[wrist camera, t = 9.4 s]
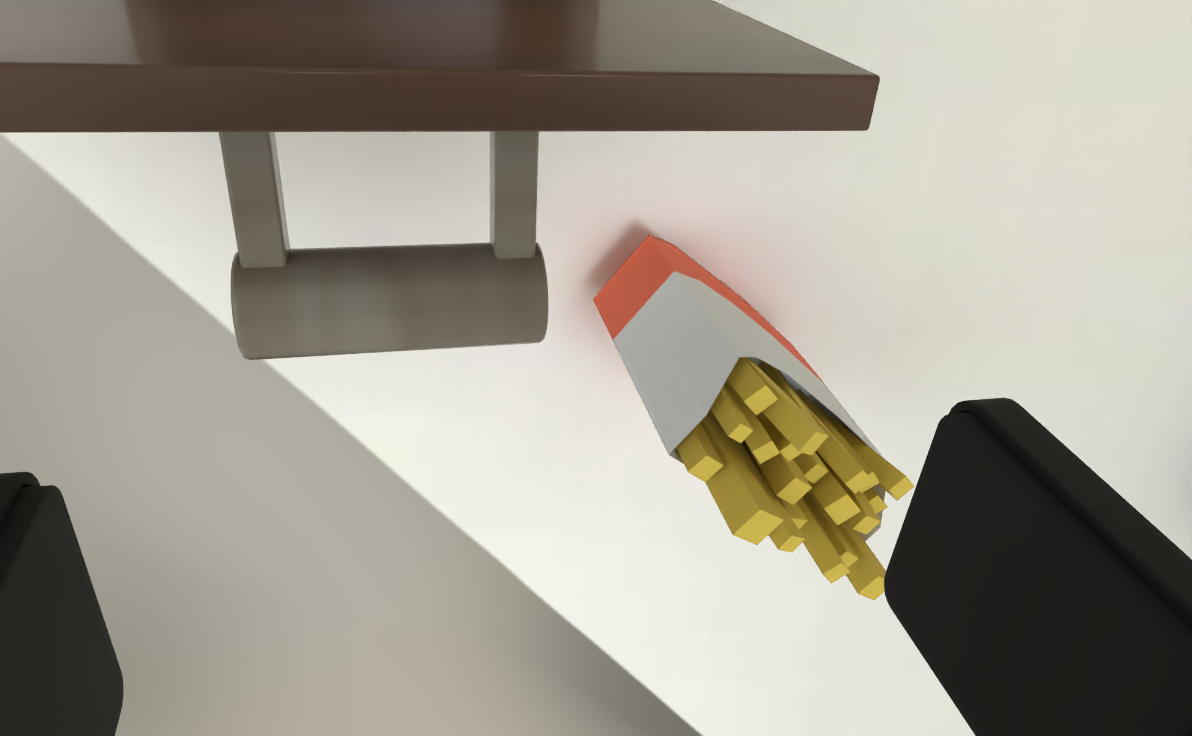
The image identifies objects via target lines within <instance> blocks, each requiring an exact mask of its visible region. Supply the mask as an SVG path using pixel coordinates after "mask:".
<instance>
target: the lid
mask: <svg viewBox="0 0 1192 736" xmlns="http://www.w3.org/2000/svg"><path fill="white" fill-rule="evenodd" d="M879 81H880V78H879V76H878V75H876V74H874V73H872V72H869V71H867V70H865V69H863V68H861V67H858V66H856V65H854V64H852V63H850V62H847V61H845V60H843V59H841V58H839V57H836V56H834V55H832V54H830V53H827V52H825V51H823V50H821V49H819V48H816V47H814V46H812V45H810V44H808V43H805V42H803V41H801V40H799V39H797V38H794V37H792V36H790V35H788V34H786V33H783V32H781V31H779V30H777V29H775V28H772V27H770V26H768V25H766V24H763V23H761V22H759V21H757V20H755V19H752V18H750V17H748V16H746V15H744V14H741V13H739V12H737V11H735V10H733V9H730V8H728V7H726V6H724V5H722V4H719V3H717V2H715V1H713V0H0V132H219V136H220V143H221V149H222V155H223V161H224V167H225V173H226V179H227V185H228V191H229V197H230V203H231V210H232V216H233V222H234V228H235V234H236V240H237V246H238V252H237V253H236V254H235V256H234V259H233V262H232V269H231V304H232V314H233V322H234V329H235V334H236V338H237V342H238V346H239V349H240V351H241V353H242V355H243V357H244V358H246V359H249V360H254V359H273V358H290V357H308V356H325V355H342V354H359V353H376V352H393V351H410V350H427V349H444V348H461V347H478V346H495V345H513V344H530V343H539V342H541V341H543V340H544V337H545V334H546V330H547V322H548V286H547V275H546V268H545V262H544V257H543V253H542V251H541V248H540V246H539V244H538V243H536V210H537V174H538V138H539V131H865V130H868V128H869V125H870V121H871V116H872V112H873V108H874V103H875V99H876V94H877V90H878V85H879ZM474 131H490V243H466V244H434V245H402V246H370V247H338V248H306V249H290V246H289V238H288V230H287V223H286V215H285V207H284V200H283V192H282V184H281V177H280V169H279V162H278V154H277V146H276V139H275V132H474Z"/></svg>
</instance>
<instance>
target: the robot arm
mask: <svg viewBox="0 0 1192 736" xmlns="http://www.w3.org/2000/svg"><path fill="white" fill-rule="evenodd" d="M884 590H885V596H886V599H887V602H888V604H889V605H890V607H891V609H892V611H893V612H894V614H895V615H896V617H897V618H898V620H899V621H900V623H901V624H902V626H903V627H904V629H905V630H906V632H907V633H908V635H909V636H910V638H911V639H912V641H913V642H914V644H915V645H916V647H917V648H918V650H919V651H920V653H921V654H922V656H923V657H924V659H925V660H926V662H927V663H928V665H929V666H930V668H931V669H932V671H933V672H934V674H935V675H936V677H937V678H938V680H939V681H940V683H941V684H942V686H943V687H944V689H945V690H946V692H947V693H948V695H949V696H950V698H951V699H952V701H953V702H954V704H955V705H956V707H957V708H958V710H959V711H960V713H961V714H962V716H963V717H964V719H965V720H966V722H967V723H968V725H969V726H970V728H971V729H972V731H973V732H974V734H975V735H976V736H1192V560H1191V559H1190V558H1189V557H1188V556H1187V555H1186V554H1185V553H1184V552H1183V551H1181V550H1180V549H1179V548H1178V547H1177V546H1176V545H1175V544H1174V543H1173V542H1171V541H1170V540H1169V539H1168V538H1167V537H1166V536H1165V535H1164V534H1163V533H1161V532H1160V531H1159V530H1158V529H1157V528H1156V527H1155V526H1154V525H1153V524H1151V523H1150V522H1149V521H1148V520H1147V519H1146V518H1145V517H1144V516H1143V515H1141V514H1140V513H1139V512H1138V511H1137V510H1136V509H1135V508H1134V507H1133V506H1131V505H1130V504H1129V503H1128V502H1127V501H1126V500H1125V499H1124V498H1123V497H1121V496H1120V495H1119V494H1118V493H1117V492H1116V491H1115V490H1114V489H1113V488H1111V487H1110V486H1109V485H1108V484H1107V483H1106V482H1105V481H1104V480H1103V479H1101V478H1100V477H1099V476H1098V475H1097V474H1096V473H1095V472H1094V471H1093V470H1091V469H1090V468H1089V467H1088V466H1087V465H1086V464H1085V463H1084V462H1083V461H1081V460H1080V459H1079V458H1078V457H1077V456H1076V455H1075V454H1074V453H1073V452H1071V451H1070V450H1069V449H1068V448H1067V447H1066V446H1065V445H1064V444H1063V443H1061V442H1060V441H1059V440H1058V439H1057V438H1056V437H1055V436H1054V435H1053V434H1051V433H1050V432H1049V431H1048V430H1047V429H1046V428H1045V427H1044V426H1043V425H1041V424H1040V423H1039V422H1038V421H1037V420H1036V419H1035V418H1034V417H1033V416H1031V415H1030V414H1029V413H1028V412H1027V411H1026V410H1025V409H1024V408H1023V407H1021V406H1020V405H1019V404H1018V403H1016V402H1015V401H1013V400H1012V399H1007V398H995V399H981V400H968V401H962V402H959V403H957V404H956V405H955V406H954V407H953V408H952V409H951V411H950V413H949V415H945V416H944V417H943V418H942V419H941V420H940V422H939V424H938V426H937V429H936V432H935V435H934V438H933V440H932V443H931V446H930V449H929V452H928V455H927V457H926V460H925V463H924V466H923V469H922V472H921V474H920V477H919V480H918V483H917V486H916V489H915V491H914V494H913V497H912V500H911V503H910V506H909V508H908V511H907V514H906V517H905V520H904V523H903V525H902V528H901V531H900V534H899V537H898V540H897V542H896V545H895V548H894V551H893V554H892V557H891V559H890V562H889V565H888V568H887V571H886V574H885V578H884ZM122 702H123V678H122V673H121V669H120V666H119V663H118V660H117V657H116V654H115V651H114V648H113V646H112V643H111V639H110V636H109V633H108V630H107V627H106V625H105V621H104V619H103V616H102V612H101V609H100V606H99V604H98V601H97V597H96V594H95V591H94V588H93V585H92V583H91V579H90V576H89V573H88V571H87V568H86V564H85V561H84V558H83V556H82V553H81V549H80V547H79V543H78V540H77V538H76V535H75V531H74V529H73V525H72V523H71V520H70V517H69V514H68V511H67V508H66V505H65V502H64V499H63V496H62V494H61V492H60V490H59V489H58V488H57V487H56V486H52V485H50V486H40V484H39V482H38V480H37V478H36V477H35V476H34V475H33V474H32V473H29V472H16V473H2V474H0V736H115V732H116V728H117V724H118V721H119V717H120V713H121V708H122Z"/></svg>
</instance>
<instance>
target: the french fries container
mask: <svg viewBox="0 0 1192 736" xmlns="http://www.w3.org/2000/svg"><path fill="white" fill-rule="evenodd" d="M593 300H594V302H595V304H596V306H597V308H598V310H599V313H600V315H601V317H602V319H603V321H604V323H605V325H606V327H607V329H608V331H609V333H610V335H611V337H612V339H613V341H614V343H615V345H616V348H617V350H618V352H619V354H620V356H621V358H622V360H623V362H624V364H625V366H626V368H627V370H628V372H629V374H630V376H631V378H632V380H633V382H634V385H635V387H636V389H637V391H638V393H639V395H640V397H641V399H642V401H643V403H644V405H645V407H646V409H647V411H648V413H649V415H650V417H651V419H652V422H653V424H654V426H655V428H656V430H657V432H658V434H659V436H660V438H661V440H662V442H663V444H664V446H665V448H666V450H667V452H668V454H669V455H670V456H672V457H673V458H675V459H677V460H678V461H680V462H682V463H683V464H685V466H686V468H687V471H688V472H689V473H691V474H692V475H694V476H696V477H697V478H699V479H701V480H703V481H704V482H706V484H707V486H708V488H709V490H710V492H711V494H712V496H713V498H714V500H715V502H716V504H717V505H718V507H719V509H720V511H721V513H722V515H723V517H724V519H725V521H726V523H727V525H728V527H729V529H730V530H731V532H732V534H733V535H735V536H737V537H739V538H742V539H744V540H746V541H749V542H751V543H754V544H756V545H758V544H759V543H760V542H761V541H762V540H763V539H764V538H765V537H766V536H767V535H769V536H770V538H771V539H772V541H773V542H774V544H775V545H776V547H777V548H778V550H783V551H787V552H793V551H794V550H795V549H796V548H797V547H798V546H799V545H800V544H801V543H802V542H803V543H804V545H805V546H806V548H807V550H808V551H809V553H810V554H811V556H812V558H813V559H814V561H815V562H816V564H817V566H818V567H819V569H820V570H821V572H822V574H823V575H824V576H825V577H826V578H827V579H828V580H829V581H830V582H831V583H833V582H834V581H836V580H838V579H839V578H841V577H842V576H844V575H846V576H847V577H848V579H849V580H850V582H851V583H852V585H853V587H854V588H855V590H856V591H857V593H858V594H860V595H862V596H865V597H867V598H870V599H872V600H875V599H876V598H877V597H879V596H880V595H881V594H882V593H883V592H885V590H884V578H885V574H886V571H885V569H884V568H883V566H882V565H881V564H880V562H879V561H878V559H877V558H876V556H875V555H874V554H873V552H872V551H871V549H870V548H869V547H868V545H867V544H866V542H865V541H866V540H867V539H868V538H869V537H870V536H872V535H873V534H874V533H875V532H876V531H877V530H878V529H879V528H880V525H881V518H882V511H883V510H884V509H885V508H887V506H886V504H885V503H884V497H885V490H886V491H887V492H888V493H889V494H890V495H891V496H893V497H894V498H895V499H896V500H899V499H900V498H901V497H902V496H903V495H904V494H906V493H907V492H908V491H909V490H910V489H912V488H913V487H914V486H913V484H912V483H911V482H910V480H909V479H908V478H907V477H906V476H905V475H904V474H903V473H902V472H900V471H899V470H898V469H896V468H895V467H894V466H893V465H891V464H890V463H889V462H888V461H886V460H885V459H884V458H883V457H882V456H881V454H880V453H879V452H878V450H877V449H876V448H875V447H874V445H873V444H872V443H871V442H870V440H869V439H868V438H867V437H866V435H865V434H864V433H863V432H862V430H861V429H860V428H859V427H858V425H857V424H856V423H855V421H854V420H853V419H852V418H851V416H850V415H849V414H848V413H847V411H846V410H845V409H844V408H843V406H842V405H841V404H840V403H839V401H838V400H837V399H836V397H835V396H834V395H833V394H832V392H831V391H830V390H829V389H828V387H827V386H826V385H825V384H824V382H823V381H822V380H821V379H820V378H819V376H818V375H817V374H816V373H815V372H814V370H813V369H812V368H811V367H810V366H809V364H808V363H807V362H806V361H805V359H804V358H803V357H802V356H801V355H800V353H799V352H798V351H797V350H796V349H795V347H794V346H793V345H792V344H791V343H790V342H789V341H788V340H787V339H786V338H784V337H783V336H782V335H781V334H780V333H779V332H778V331H777V330H776V329H775V328H774V327H773V326H772V325H770V324H769V323H768V322H767V321H766V320H765V319H764V318H763V317H762V316H761V315H760V314H759V313H758V312H757V311H755V310H754V309H753V308H752V307H751V306H750V305H749V304H748V303H747V302H746V301H745V300H744V299H743V298H741V297H740V296H739V295H737V294H736V293H735V292H734V291H732V290H731V289H730V288H728V287H727V286H726V285H725V284H723V283H722V282H721V281H719V280H718V279H717V278H715V277H714V276H713V275H712V274H710V273H709V272H708V271H706V270H705V269H704V268H703V267H701V266H700V265H699V264H697V263H696V262H695V261H694V260H692V259H691V258H690V257H688V256H687V255H686V254H684V253H683V252H682V251H681V250H679V249H678V248H677V247H675V246H674V245H673V244H670V243H668V242H665V241H663V240H660V239H658V238H655V237H653V236H650V235H648V237H647V238H646V239H645V240H644V241H643V242H642V244H641V245H640V246H639V247H638V248H637V249H636V250H635V252H634V253H633V254H632V255H631V256H630V257H629V259H628V260H627V261H626V262H625V263H624V264H623V265H622V267H621V268H620V269H619V270H618V271H617V272H616V274H615V275H614V276H613V277H612V278H611V279H610V281H609V282H608V283H607V284H606V285H605V286H604V287H603V289H602V290H601V291H600V292H599V293H598V294H597V296H596V297H595V298H594V299H593Z"/></svg>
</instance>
